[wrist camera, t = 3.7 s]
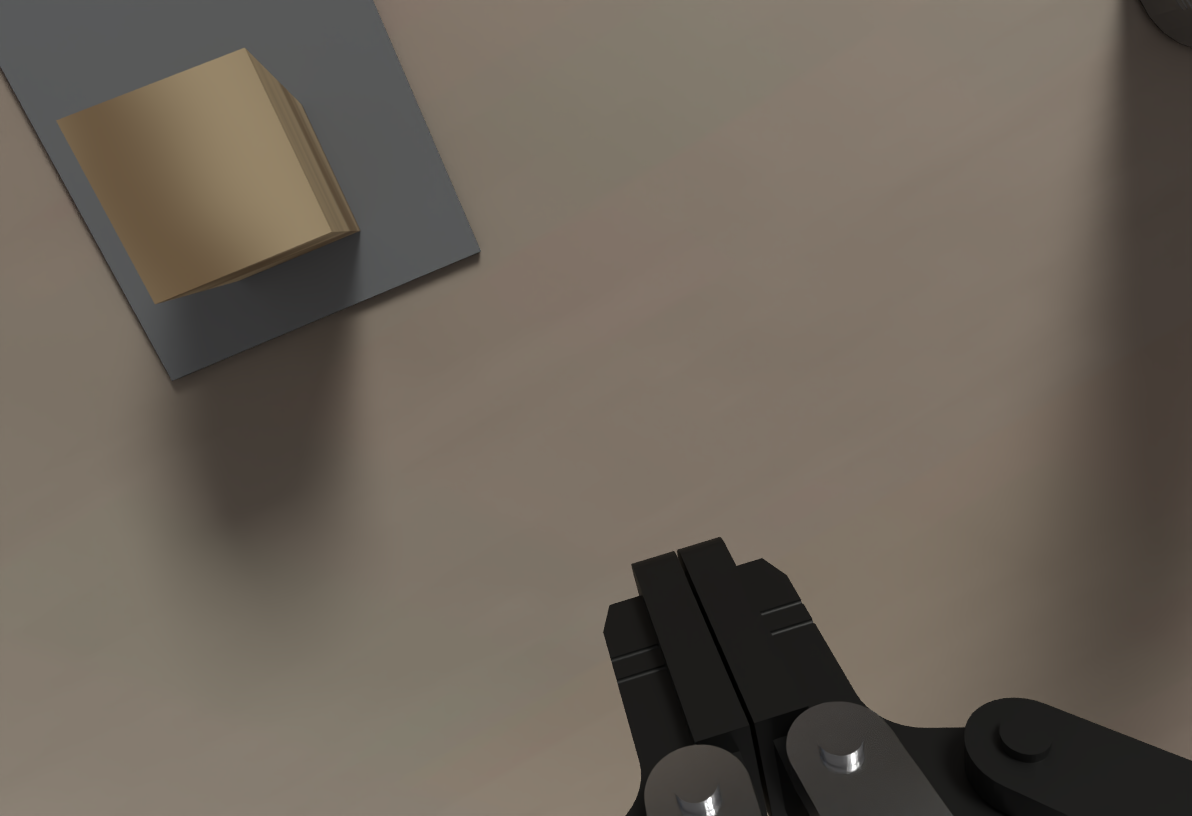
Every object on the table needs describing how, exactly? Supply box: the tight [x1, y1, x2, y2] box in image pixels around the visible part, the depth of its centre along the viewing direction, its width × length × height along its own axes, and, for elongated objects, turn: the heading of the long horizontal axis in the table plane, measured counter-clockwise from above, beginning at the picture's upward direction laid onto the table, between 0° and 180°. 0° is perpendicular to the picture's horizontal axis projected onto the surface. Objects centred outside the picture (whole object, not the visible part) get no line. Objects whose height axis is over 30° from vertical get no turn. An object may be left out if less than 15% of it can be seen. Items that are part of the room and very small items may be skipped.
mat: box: [0, 0, 481, 381], centre depth 32 cm, size 13×22×1 cm, turn 22°
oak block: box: [56, 48, 360, 304], centre depth 28 cm, size 5×5×11 cm
